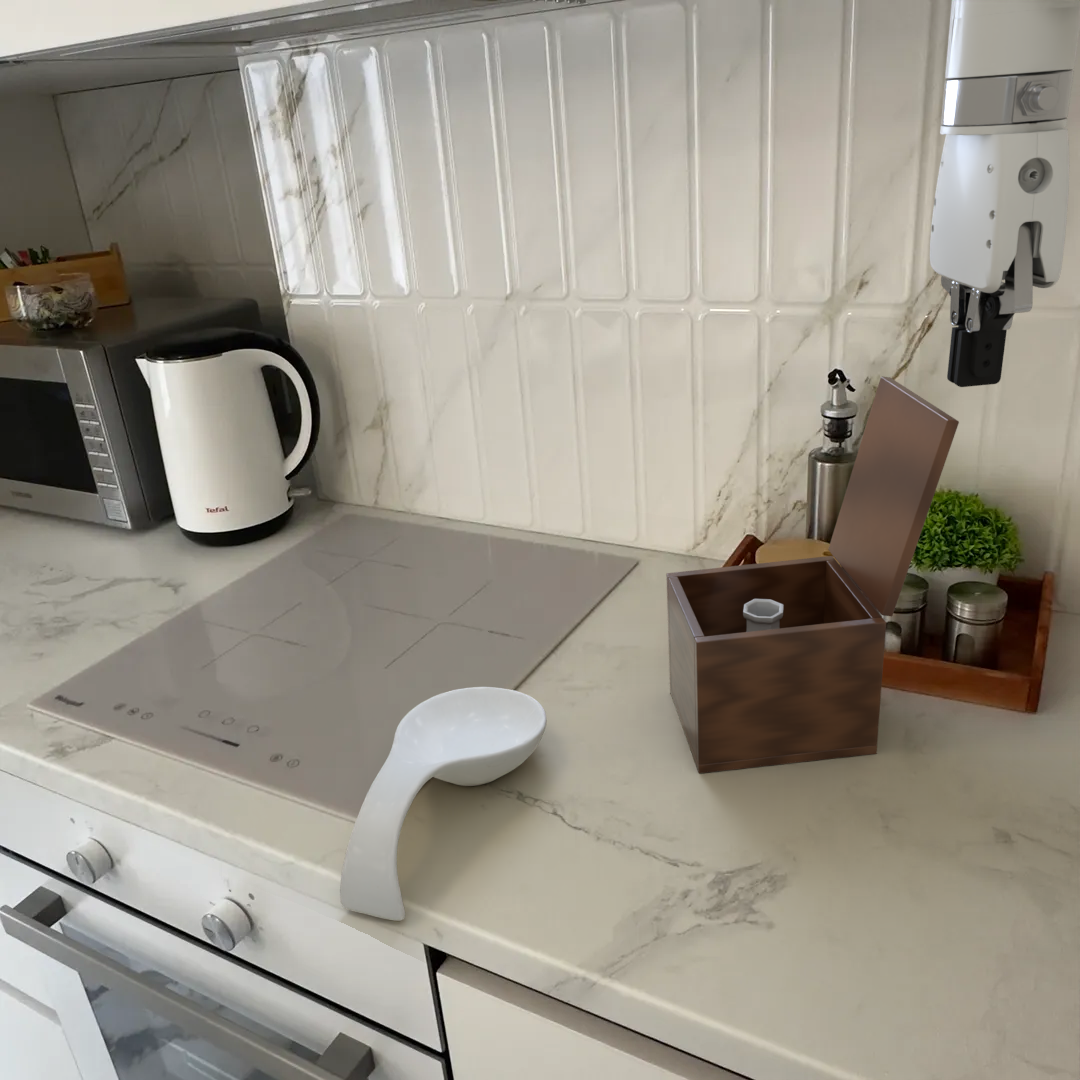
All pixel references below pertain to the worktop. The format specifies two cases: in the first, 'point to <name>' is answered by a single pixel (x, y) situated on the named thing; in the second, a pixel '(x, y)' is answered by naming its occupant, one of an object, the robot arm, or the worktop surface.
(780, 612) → the flask
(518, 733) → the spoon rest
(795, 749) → the box
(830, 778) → the worktop surface
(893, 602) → the lid
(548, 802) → the worktop surface
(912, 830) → the worktop surface
